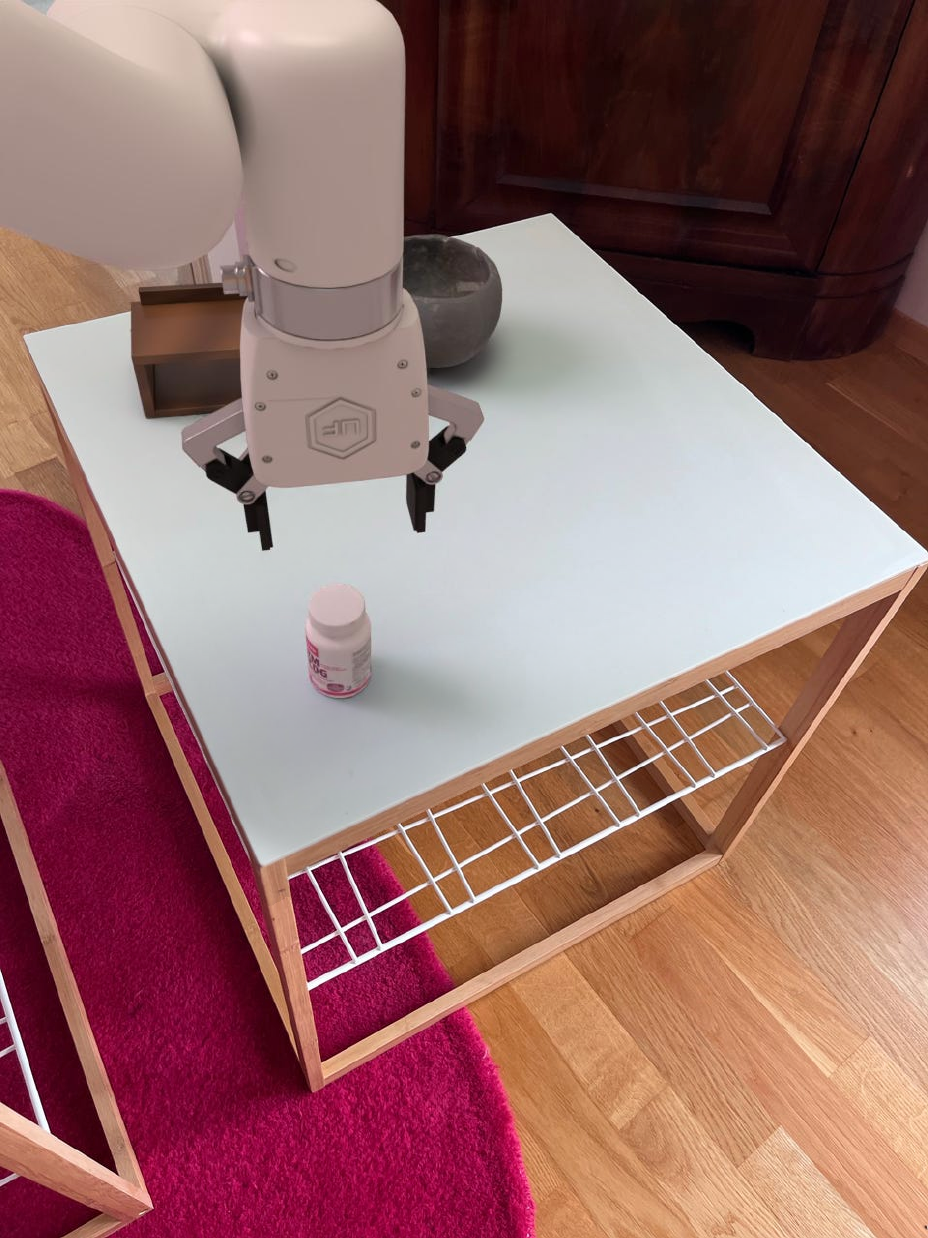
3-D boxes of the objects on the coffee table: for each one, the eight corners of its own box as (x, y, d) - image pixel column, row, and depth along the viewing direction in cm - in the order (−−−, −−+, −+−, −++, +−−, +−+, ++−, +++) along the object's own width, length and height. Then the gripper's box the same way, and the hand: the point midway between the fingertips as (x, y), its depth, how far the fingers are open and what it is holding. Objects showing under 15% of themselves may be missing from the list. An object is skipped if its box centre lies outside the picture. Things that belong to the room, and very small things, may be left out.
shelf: (145, 418, 91) (127, 341, 84) (144, 363, 96) (127, 287, 90) (292, 406, 94) (286, 331, 87) (283, 353, 99) (276, 278, 93)
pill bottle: (296, 683, 72) (288, 612, 66) (331, 641, 75) (326, 569, 69) (350, 710, 71) (347, 639, 64) (383, 666, 74) (383, 594, 67)
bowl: (383, 301, 107) (383, 215, 99) (510, 329, 105) (521, 244, 97) (335, 374, 97) (331, 286, 90) (474, 407, 95) (483, 319, 88)
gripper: (151, 338, 44) (206, 586, 57) (512, 311, 47) (486, 552, 60) (149, 253, 48) (200, 501, 61) (478, 234, 51) (460, 473, 65)
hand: (341, 526), depth 61 cm, fingers open, 9 cm apart
